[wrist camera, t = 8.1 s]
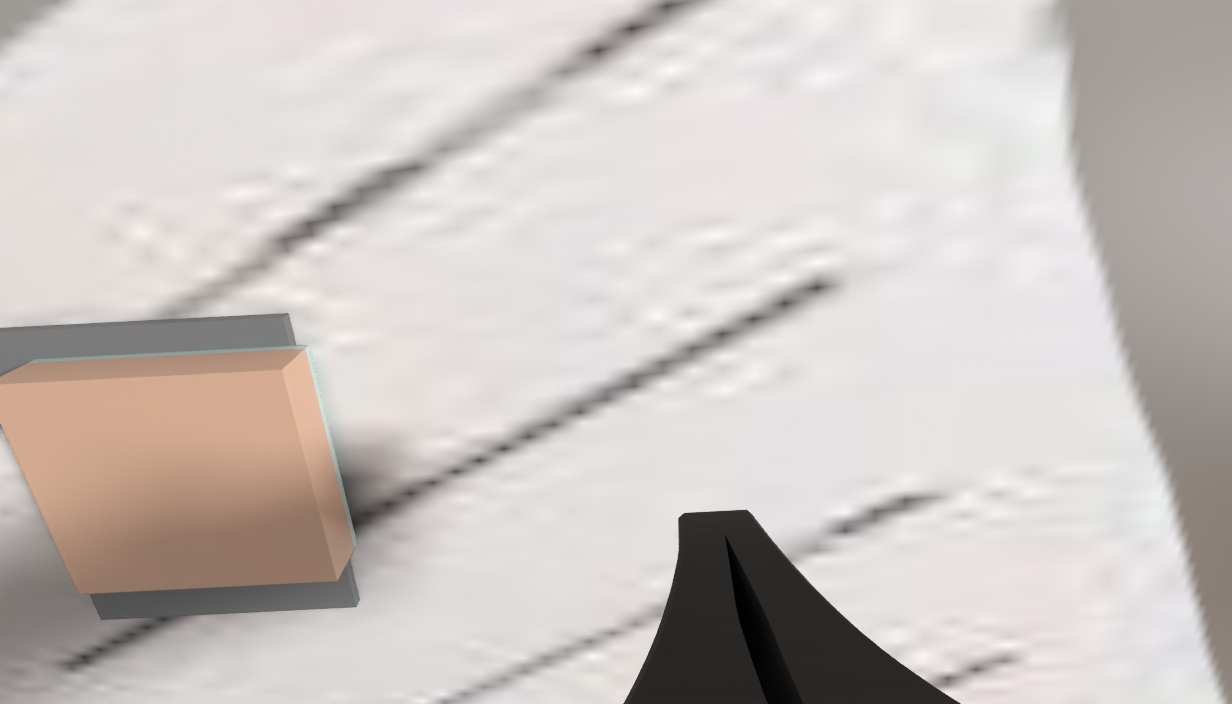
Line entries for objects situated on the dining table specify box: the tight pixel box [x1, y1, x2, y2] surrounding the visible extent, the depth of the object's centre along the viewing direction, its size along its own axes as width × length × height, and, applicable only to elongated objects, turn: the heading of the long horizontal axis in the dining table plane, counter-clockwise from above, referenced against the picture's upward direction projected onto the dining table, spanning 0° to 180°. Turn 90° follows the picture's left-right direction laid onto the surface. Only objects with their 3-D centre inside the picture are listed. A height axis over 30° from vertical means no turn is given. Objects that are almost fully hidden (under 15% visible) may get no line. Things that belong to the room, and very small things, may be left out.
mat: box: [0, 313, 360, 620], centre depth 24 cm, size 12×10×1 cm
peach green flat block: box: [0, 345, 357, 594], centre depth 22 cm, size 8×2×9 cm
